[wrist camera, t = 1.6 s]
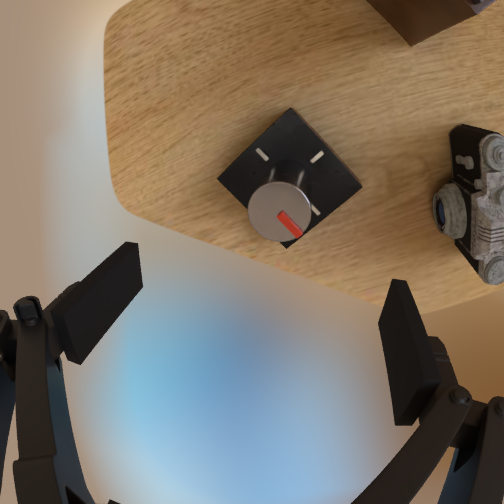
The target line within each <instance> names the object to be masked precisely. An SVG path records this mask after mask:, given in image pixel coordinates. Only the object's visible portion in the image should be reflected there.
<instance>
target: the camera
mask: <svg viewBox="0 0 504 504" xmlns="http://www.w3.org/2000/svg"><path fill="white" fill-rule="evenodd" d="M449 141H450V150H451V161H452V175H453V178H450V179H449V181H448V184H444V185H443V187H442V189H440V190H439V191H438V193H436V194H435V195H434V197H433V212H434V218H435V222H436V225H437V228H438V230H439V231H440V232H441V233H445V234H446V235H447V236H449V237H450V238H452V239H454V244H455V245H456V247H457V248H458V249H459V250H460V251H461V253H462V254H463V255H464V257H465V258H466V259H467V260H468V262H469V263H470V264H471V266H472V267H473V268H474V270H475V271H476V272H477V274H478V275H479V276H480V278H481V279H482V280H483V281H484V282H485V283H487V284H490V285H498V284H501V283H502V282H503V281H504V136H502V135H501V134H499V133H497V132H493V131H490V130H486V129H482V128H478V127H474V126H469V125H465V124H462V125H459V126H456V127H454V128H453V129H452V130H451V131H450V133H449Z"/></svg>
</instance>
